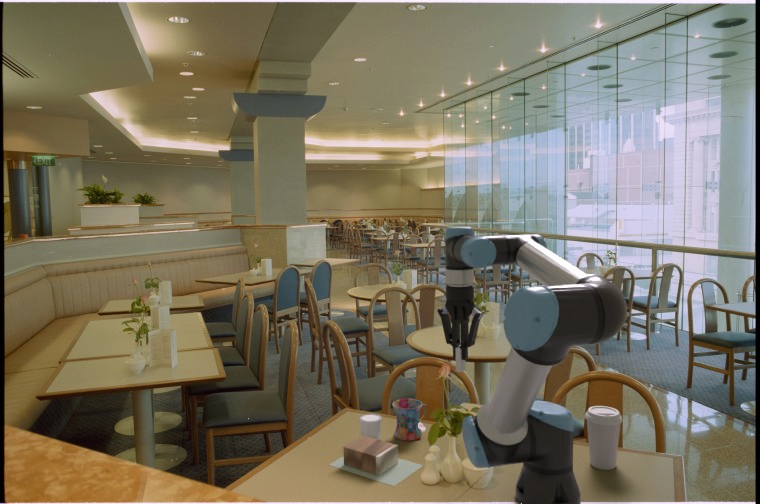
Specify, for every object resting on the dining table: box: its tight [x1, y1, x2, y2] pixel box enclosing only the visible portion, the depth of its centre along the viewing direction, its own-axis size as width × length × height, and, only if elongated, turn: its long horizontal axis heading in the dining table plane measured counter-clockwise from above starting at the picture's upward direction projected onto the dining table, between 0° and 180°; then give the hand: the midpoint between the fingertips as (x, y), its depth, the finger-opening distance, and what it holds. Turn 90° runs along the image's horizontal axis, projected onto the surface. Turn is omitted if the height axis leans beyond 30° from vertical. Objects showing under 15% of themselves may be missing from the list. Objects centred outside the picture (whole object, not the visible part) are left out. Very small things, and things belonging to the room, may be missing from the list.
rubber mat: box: [328, 455, 424, 487], centre depth 162 cm, size 22×14×1 cm, turn 54°
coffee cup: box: [584, 405, 623, 471], centre depth 160 cm, size 10×10×15 cm
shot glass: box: [358, 413, 382, 440], centre depth 180 cm, size 7×7×7 cm
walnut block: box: [343, 436, 399, 475], centre depth 162 cm, size 5×9×12 cm
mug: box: [392, 398, 428, 442], centre depth 181 cm, size 12×9×11 cm
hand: (460, 370), depth 159 cm, fingers closed
